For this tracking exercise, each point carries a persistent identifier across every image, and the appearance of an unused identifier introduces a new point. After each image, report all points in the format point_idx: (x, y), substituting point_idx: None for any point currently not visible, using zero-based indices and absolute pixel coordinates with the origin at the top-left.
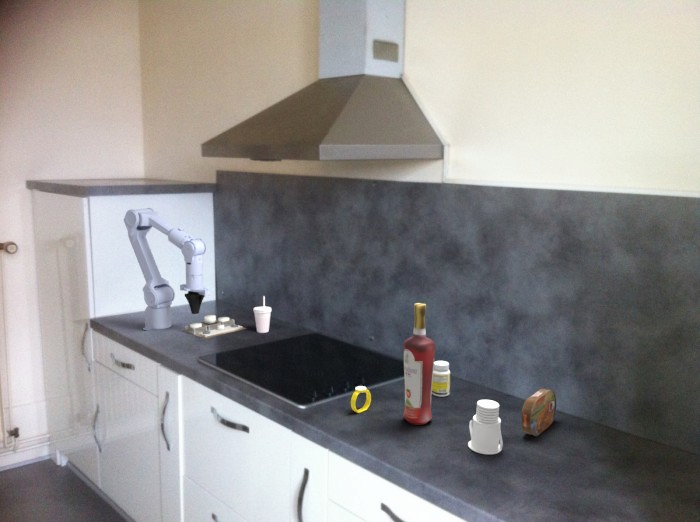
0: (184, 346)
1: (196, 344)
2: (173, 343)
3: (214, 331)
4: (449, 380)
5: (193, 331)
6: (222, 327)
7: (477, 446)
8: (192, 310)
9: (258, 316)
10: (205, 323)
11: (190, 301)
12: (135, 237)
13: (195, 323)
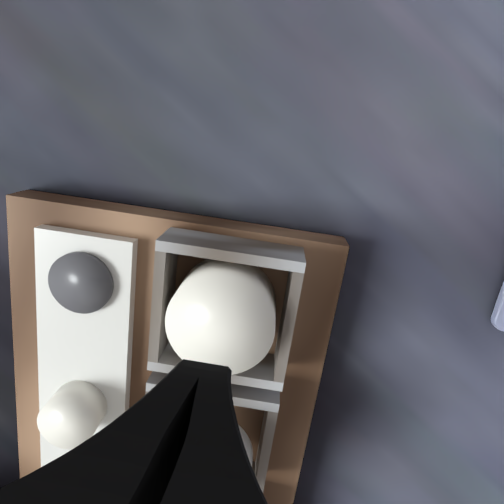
0: (63, 7)
1: (41, 113)
2: (208, 16)
3: (73, 344)
4: None
5: (173, 234)
6: (43, 410)
7: None
8: (186, 380)
9: None
10: (261, 440)
11: (168, 490)
12: None
13: (246, 345)
